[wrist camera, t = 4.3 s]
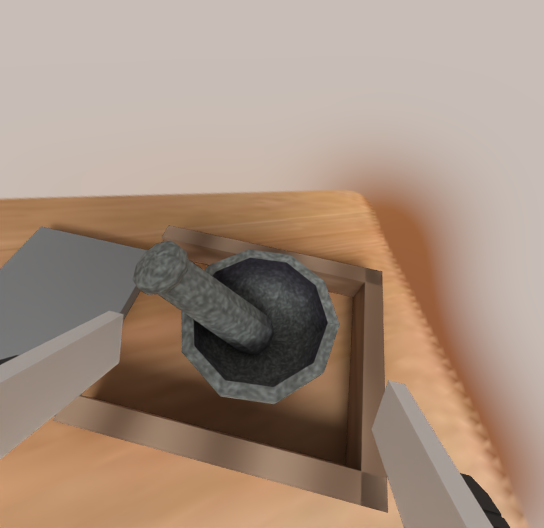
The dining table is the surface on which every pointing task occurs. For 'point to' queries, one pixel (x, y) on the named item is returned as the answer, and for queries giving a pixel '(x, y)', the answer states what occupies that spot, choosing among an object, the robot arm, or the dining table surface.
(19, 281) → the slate mat
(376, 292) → the rectangular wooden frame
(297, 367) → the mortar and pestle
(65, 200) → the dining table surface
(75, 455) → the dining table surface
